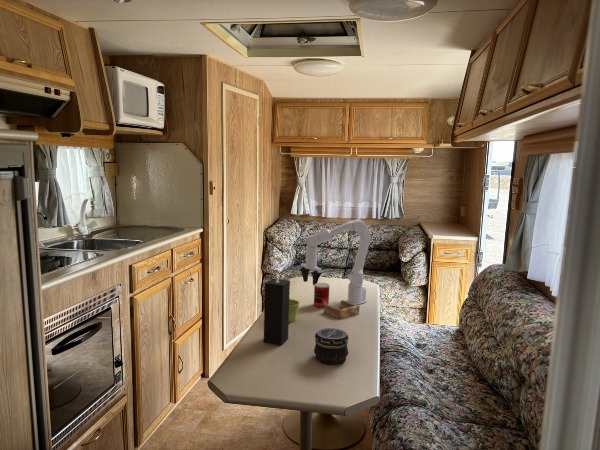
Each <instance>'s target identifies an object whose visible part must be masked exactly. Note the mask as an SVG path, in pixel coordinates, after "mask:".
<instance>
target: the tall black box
mask: <svg viewBox="0 0 600 450" xmlns="http://www.w3.org/2000/svg"><path fill="white" fill-rule="evenodd" d="M280 276H281V275H280V273H276V274H275V278H270V279H269V280H267V281H266V282H264V304H263V305H264V307H263V310H264V311H263V312H264V313H263V314H264V315H263V343H265V344H269V345H276V346H282V345H284V343H285V342H286V341H287V340H288V339H289V323H290V322H289V299H290V293H291V292H290V290H291V288H290V287H291V280H287V279H280Z"/></svg>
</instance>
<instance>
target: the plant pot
mask: <svg viewBox="0 0 600 450" xmlns="http://www.w3.org/2000/svg"><path fill="white" fill-rule="evenodd" d="M299 305H300V301H298V300H296V299H292V298H291V299H290V298H289V323H294V322H295V321H296V319H297V318H296V317H297V312H298V307H299Z"/></svg>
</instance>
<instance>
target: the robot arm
mask: <svg viewBox="0 0 600 450" xmlns="http://www.w3.org/2000/svg"><path fill="white" fill-rule="evenodd" d="M346 231H348V232H353V231H354V232H355V233H356V234H357V235H358V236H359V238H360V239H359V244H358V249H357V251H356V257H355V262H354V265H353V267H352V270H351V272H350V273H349V274H348V280H349V283H348V289H347V291H348V292H347V299H344V301H347V302H349V303H352V304H355V305H361V304H365V303H367V302H368V301H367V289H366V286H365V285H363V282H364V280H363V275H364V273H363V272H364V271H363V270H364V268H365V267H364V266H365V262H366V259H367V254H368V250H369V247H370V242H371V237H372V235H371V234H370V232H369V228H368V226H367V224H366V223H365V222H364V221H362V220H361V219H359V218H355V219H352V220H349V221H346V222H344V223H343V224H340V225H338V226H336V227H334V228H332V229H328V228H322V230H320V231H319V232H314V233H313V234H310V235H308V236H307V238H306V243H307V244H306V253H305V263H303V262H302V263H300V268H299V270H300V272H301V276H302V280H303V282H304V283H305V282H306V283H307V282H308V281H309V280H308V279H309V273H310V271H311V276H312V285H313V286H315V284H316V283H319V279H320V277H321V275H322V274H323V272H322V268H320V267H319V266H317V261H318V245H319V244H322V243H325V242H327V241H330V240H332V238H333V236H335V235H338V234H341V233H343V232H344V233H345V232H346Z"/></svg>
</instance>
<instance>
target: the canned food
mask: <svg viewBox="0 0 600 450" xmlns="http://www.w3.org/2000/svg"><path fill="white" fill-rule="evenodd" d="M313 288H314V289H313V290H314V291H313V305H314V307H315V308H321V309H322V308H323V309H324V305H325V304H327V305H330V301H329V299H330V284H329V283H326V282H317V283H316V284H315V285H313Z"/></svg>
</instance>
